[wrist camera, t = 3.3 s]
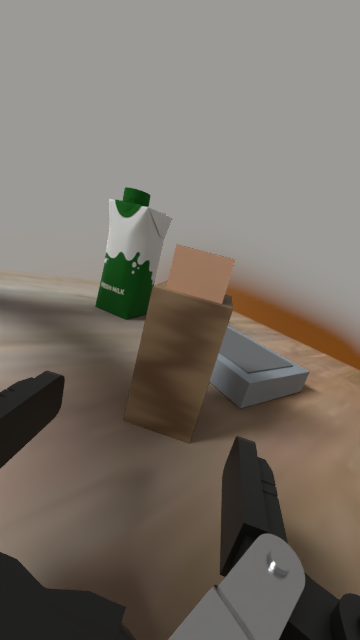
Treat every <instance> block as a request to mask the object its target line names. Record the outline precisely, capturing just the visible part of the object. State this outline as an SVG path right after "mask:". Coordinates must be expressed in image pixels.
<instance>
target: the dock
mask: <svg viewBox="0 0 360 640" xmlns="http://www.w3.org/2000/svg"><path fill="white" fill-rule="evenodd" d="M308 374H309V371H308V370H306V369H304V368H302V367H300V366H299V365H297V364H295V363H293V362H292V361H290V360H288V359H286V358H284V357H283V356H281V355H279V354H277V353H276V352H274V351H272V350H270V349H268V348H267V347H265V346H263V345H261V344H260V343H258V342H256V341H254V340H253V339H251V338H249V337H247V336H245V335H244V334H242V333H240V332H238V331H237V330H235V329H233V328H231V327H229V326H227V329H226V332H225V335H224V338H223V342H222V345H221V348H220V351H219V354H218V357H217V360H216V363H215V366H214V369H213V373H212V376H211V379H210V383H212V384H213V385H214V386H215V387H216V388H217V389H218V390H220V391H221V392H222V393H223V394H224V395H225V396H226V397H228V398H229V399H230V400H231V401H232V402H233V403H234V404H236V405H237V406H238V407H239V408H244V407H247V406H251V405H255V404H258V403H262V402H265V401H269V400H273V399H276V398H280V397H283V396H287V395H291V394H294V393H298V392H301V390H302V388H303V385H304V383H305V381H306V379H307V376H308Z"/></svg>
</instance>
